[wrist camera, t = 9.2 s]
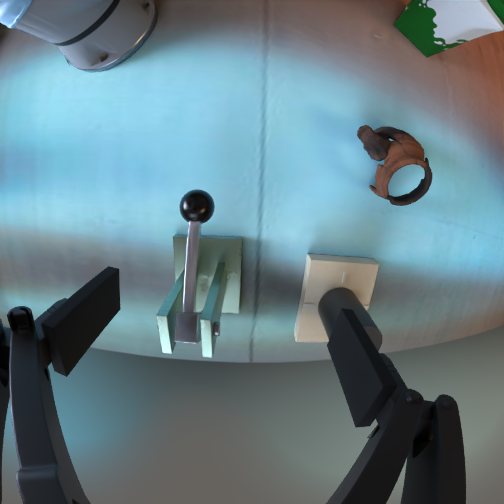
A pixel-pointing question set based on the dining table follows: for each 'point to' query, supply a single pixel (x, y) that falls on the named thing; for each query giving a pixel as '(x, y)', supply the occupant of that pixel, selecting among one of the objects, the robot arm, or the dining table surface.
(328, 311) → the tap knob
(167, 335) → the grey metal lever stand
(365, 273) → the panel
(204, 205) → the tap lever
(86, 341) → the robot arm
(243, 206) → the dining table surface
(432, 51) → the milk carton
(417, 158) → the broken clay pot
